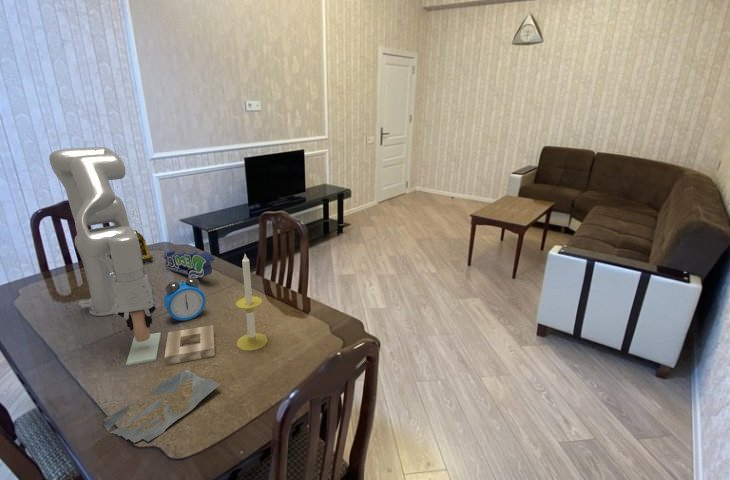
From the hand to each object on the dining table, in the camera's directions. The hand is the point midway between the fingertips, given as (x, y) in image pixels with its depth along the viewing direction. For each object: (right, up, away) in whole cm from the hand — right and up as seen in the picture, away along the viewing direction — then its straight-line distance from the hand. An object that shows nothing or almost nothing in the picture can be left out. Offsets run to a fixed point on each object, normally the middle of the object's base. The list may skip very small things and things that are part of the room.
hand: (140, 326), depth 123 cm
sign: (-8, +10, +54) cm, 55 cm away
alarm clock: (+5, -2, +22) cm, 23 cm away
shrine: (-38, +17, +69) cm, 80 cm away
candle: (+33, -7, +8) cm, 35 cm away
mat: (0, -8, +3) cm, 9 cm away
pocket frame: (+14, -8, +4) cm, 17 cm away
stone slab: (+17, -17, -19) cm, 31 cm away
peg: (0, -4, +1) cm, 4 cm away
